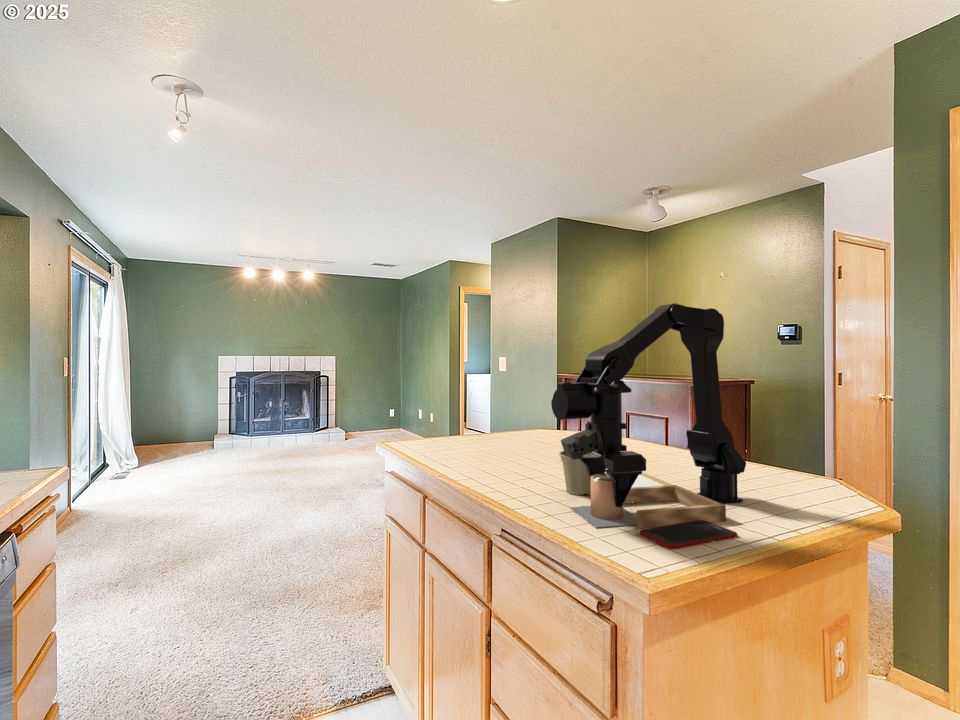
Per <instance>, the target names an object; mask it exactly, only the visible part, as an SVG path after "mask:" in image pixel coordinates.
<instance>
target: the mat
mask: <svg viewBox="0 0 960 720" xmlns="http://www.w3.org/2000/svg"><path fill="white" fill-rule="evenodd" d="M569 509H570V510H571V509H572V510H571V511H573V512H574V511H575V512H576V513H575V512H574V513H575V514H577V513H578V514H579V515H580V516H579V515H578V514H577V515H578V516H579V517H581V516H582V517H583V518H584V519H583V518H582V517H581V518H582V519H583V520H585V519H586V520H587V521H588V522H589V523H588V522H587V521H586V520H585V521H586V522H587V523H588V524H590V523H591V524H592V525H593V526H592V525H591V524H590V525H591V526H592V527H594V526H595V527H596V528H595V527H594V528H595V529H600V528H599V527H607V528H618V527H617V526H619V527H629V525H631V526H637V514H634V513H633V512H631V511H629V510H627V509H626V508H624V516H623V518H621V519H616V520H605V519H599V518H596V517H593V516H592V515H591V505H583V506H569Z"/></svg>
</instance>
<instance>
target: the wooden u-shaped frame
mask: <svg viewBox="0 0 960 720" xmlns="http://www.w3.org/2000/svg"><path fill="white" fill-rule="evenodd" d="M673 499H674V500H673ZM657 500H666V501H675V500H676V502H677V501H678V503H679V502H680V503H679V504H681V503H682V504H681V505H684V506H675V507H672V506H671V507H663V508H661V507H660V508H650V509H649V508H648V509H637V510H636V516H637V525H636V527H637V528H639V529H648V528H654V527H660V526H666V525H673V524H679V523H685V522H691V521H698V520H705V521H708V522H711V523H718V522H726V521H727V509H726V508H727V507H726V505H725V504H724V503H718V502H716V501H713V500H711V499H709V498H706V497H704V496H701V495H699V494H697V492H694V491H692V490H689V489H686V488H685V487H682V486H679V485H677V484H672V485H665V486H650V487H635V488H631V489H630V491H629V493H628V495H627V497H626V499H625V501H624V503H625V504H633V503H632V502H638V503H645V502H644V501H652V502H658V501H657Z"/></svg>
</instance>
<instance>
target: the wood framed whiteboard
mask: <svg viewBox="0 0 960 720" xmlns="http://www.w3.org/2000/svg"><path fill="white" fill-rule="evenodd" d="M665 485H673V484H672V483H669V482H667V481H664V480H662V479H659V478H656V477H654V476H652V475H650V474H648V473H645V472H642V474H639V475H638V477H637V479H636V480H635V482H634V484H633V486H632V487H631V488H635V487H650V486H665Z"/></svg>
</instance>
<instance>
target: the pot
mask: <svg viewBox="0 0 960 720" xmlns="http://www.w3.org/2000/svg"><path fill="white" fill-rule="evenodd" d="M624 505H625V504H623V505H622V507H616V506H615V501H614V494H613V486H612V479H611V477H610V476H609V475H608V474H607V473H606V472H605V473H600V474H594V475H592V476H591V494H590V506H591V515H592V516H593V517H596V518H599V519H605V520H616V519H621V518H623V516H624V509H625V507H624Z"/></svg>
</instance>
